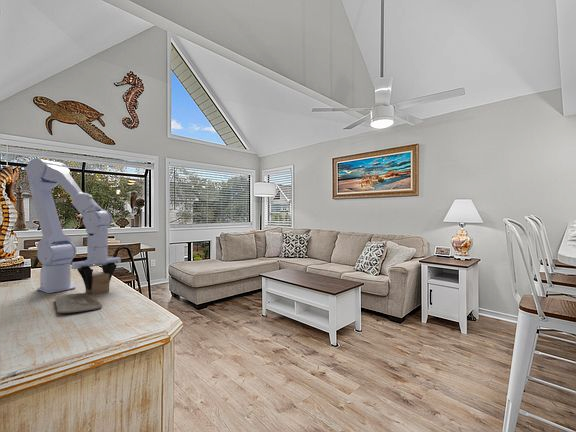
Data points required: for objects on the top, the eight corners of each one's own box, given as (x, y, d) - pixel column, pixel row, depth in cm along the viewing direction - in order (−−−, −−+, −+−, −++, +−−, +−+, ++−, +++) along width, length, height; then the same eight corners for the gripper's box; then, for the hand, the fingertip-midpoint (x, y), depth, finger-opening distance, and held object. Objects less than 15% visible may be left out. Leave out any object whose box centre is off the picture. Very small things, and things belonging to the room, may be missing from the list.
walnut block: (85, 292, 100) (85, 274, 99) (101, 289, 104) (101, 271, 104) (93, 294, 97) (93, 276, 97) (109, 291, 101) (109, 273, 101)
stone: (104, 306, 83) (59, 310, 76) (102, 316, 83) (57, 321, 76) (89, 288, 96) (50, 290, 89) (88, 297, 96) (48, 300, 89)
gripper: (79, 249, 92) (79, 294, 92) (125, 245, 104) (125, 284, 104) (68, 248, 96) (68, 290, 96) (114, 244, 108) (114, 282, 108)
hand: (97, 287), depth 100 cm, fingers closed on walnut block, 5 cm apart
